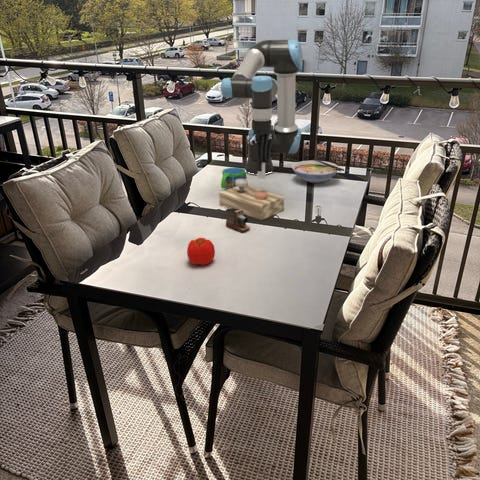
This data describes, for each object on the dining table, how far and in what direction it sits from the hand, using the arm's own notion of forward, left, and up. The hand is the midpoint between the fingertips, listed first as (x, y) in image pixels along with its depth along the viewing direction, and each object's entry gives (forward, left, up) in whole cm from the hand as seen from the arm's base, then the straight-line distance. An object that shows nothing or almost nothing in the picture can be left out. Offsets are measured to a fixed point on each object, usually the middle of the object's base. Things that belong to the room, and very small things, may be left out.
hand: (261, 178), depth 186 cm
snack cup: (-10, -25, -14) cm, 31 cm away
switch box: (0, -5, -14) cm, 15 cm away
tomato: (+47, +16, -15) cm, 52 cm away
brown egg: (0, 0, -13) cm, 13 cm away
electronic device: (+19, +6, -15) cm, 25 cm away
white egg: (0, -11, -10) cm, 15 cm away
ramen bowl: (-48, -7, -14) cm, 50 cm away
